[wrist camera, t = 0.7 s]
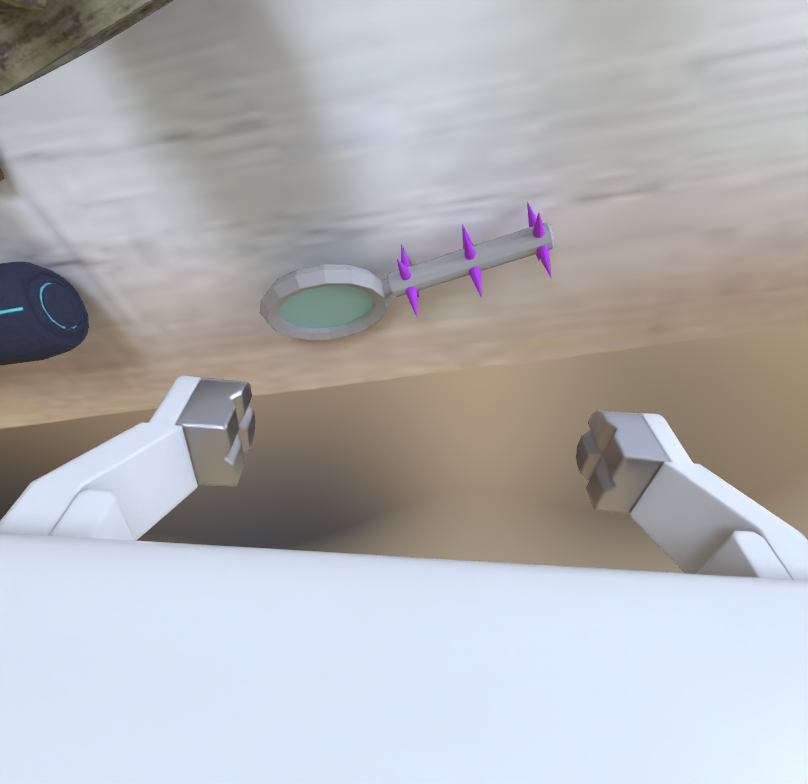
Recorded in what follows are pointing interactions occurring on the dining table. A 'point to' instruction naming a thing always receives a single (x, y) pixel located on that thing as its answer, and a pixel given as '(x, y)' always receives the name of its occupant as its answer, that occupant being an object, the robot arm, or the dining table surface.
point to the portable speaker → (38, 314)
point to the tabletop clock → (59, 33)
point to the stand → (1, 175)
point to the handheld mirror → (386, 284)
